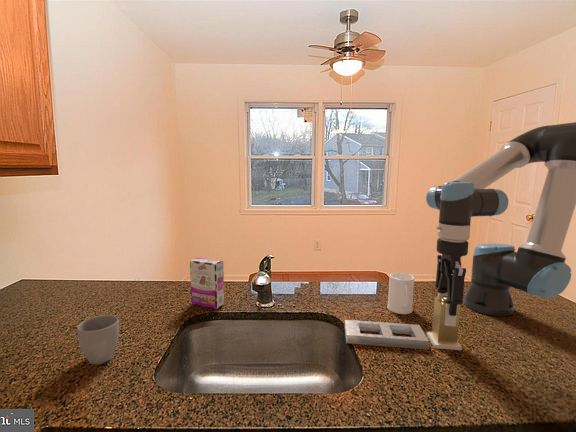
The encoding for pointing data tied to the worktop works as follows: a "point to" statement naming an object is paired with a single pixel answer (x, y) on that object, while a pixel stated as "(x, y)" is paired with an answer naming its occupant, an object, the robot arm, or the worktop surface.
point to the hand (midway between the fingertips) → (445, 319)
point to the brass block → (438, 327)
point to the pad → (443, 343)
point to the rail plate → (385, 334)
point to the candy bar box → (207, 283)
